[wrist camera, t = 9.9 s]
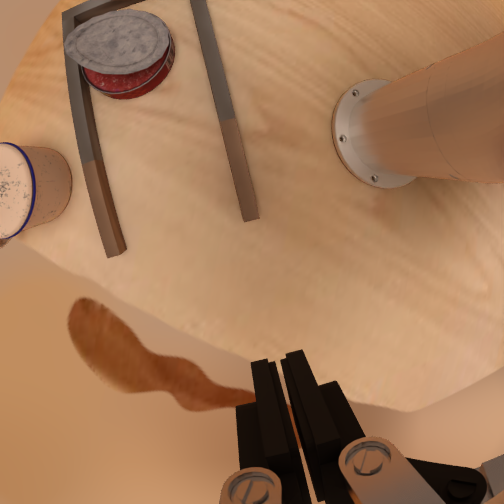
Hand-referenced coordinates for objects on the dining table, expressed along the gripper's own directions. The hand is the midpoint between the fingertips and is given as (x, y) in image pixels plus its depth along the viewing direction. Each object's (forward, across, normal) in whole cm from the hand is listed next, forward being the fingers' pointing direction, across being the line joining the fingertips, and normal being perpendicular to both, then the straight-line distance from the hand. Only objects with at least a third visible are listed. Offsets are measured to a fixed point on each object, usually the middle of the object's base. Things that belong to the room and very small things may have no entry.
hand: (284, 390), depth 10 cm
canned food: (+26, +7, -22) cm, 35 cm away
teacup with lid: (+25, +22, -11) cm, 35 cm away
